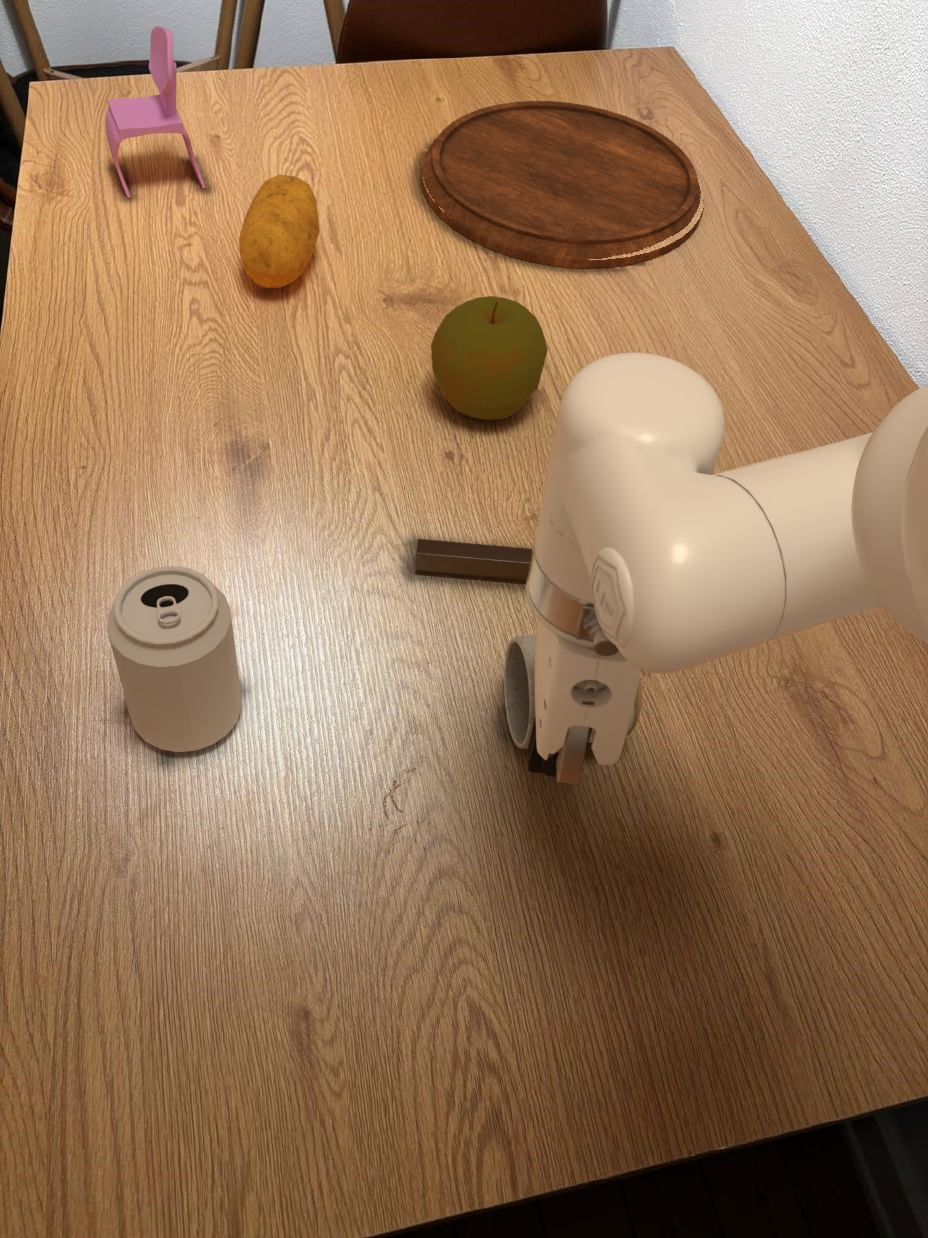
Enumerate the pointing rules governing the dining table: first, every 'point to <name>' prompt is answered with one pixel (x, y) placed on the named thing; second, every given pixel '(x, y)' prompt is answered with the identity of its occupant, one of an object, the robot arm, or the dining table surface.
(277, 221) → the potato
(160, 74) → the toy chair
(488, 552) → the back rail
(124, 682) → the can
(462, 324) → the apple
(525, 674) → the ceramic mug
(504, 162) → the cutting board
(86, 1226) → the dining table surface
